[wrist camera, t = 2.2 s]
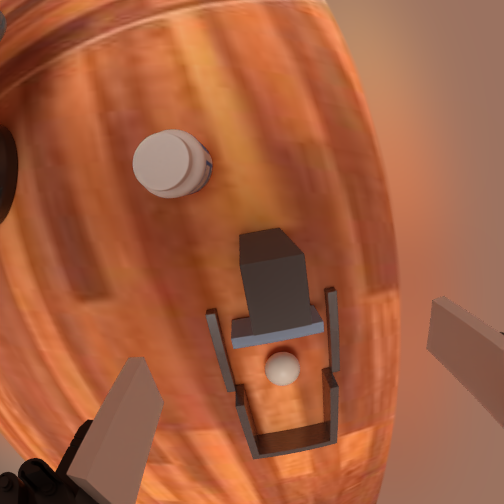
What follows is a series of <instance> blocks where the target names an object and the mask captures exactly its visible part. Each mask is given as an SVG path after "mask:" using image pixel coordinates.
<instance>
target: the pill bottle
mask: <svg viewBox="0 0 504 504" xmlns="http://www.w3.org/2000/svg"><path fill="white" fill-rule="evenodd" d="M212 169H213V163H212V159H211V156H210V154H209V152H208V150H207V149H206V148H205V147H204V146H203V145H202V144H201V143H200V142H199V141H198V140H197V139H196V138H195V137H194V136H192V135H191V134H189V133H187V132H185V131H182V130H177V129H169V130H164V131H161V132H158V133H155V134H152V135H150V136H148V137H147V138H145V139H144V140H143V141H142V142H141V143H140V144H139V146H138V147H137V149H136V151H135V153H134V157H133V171H134V174H135V176H136V178H137V180H138V181H139V182H140V183H141V184H142V185H143V186H144V187H145V188H146V189H147V190H148V191H149V192H151V193H152V194H154V195H156V196H159V197H162V198H177V197H181V196H185V195H188V194H192V193H195V192H197V191H199V190H201V189H202V188H203V187H204V186H205V185H206V184H207V183H208V181H209V179H210V177H211V174H212Z"/></svg>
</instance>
